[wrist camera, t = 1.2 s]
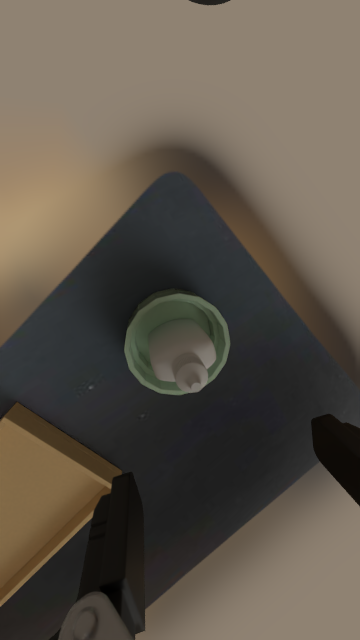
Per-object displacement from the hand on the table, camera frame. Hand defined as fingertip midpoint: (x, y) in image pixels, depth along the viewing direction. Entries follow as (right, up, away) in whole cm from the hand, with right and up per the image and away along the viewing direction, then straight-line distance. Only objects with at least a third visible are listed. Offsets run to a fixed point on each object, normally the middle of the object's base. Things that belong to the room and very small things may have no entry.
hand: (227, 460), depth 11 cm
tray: (-23, -16, +20) cm, 34 cm away
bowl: (-3, +4, +18) cm, 19 cm away
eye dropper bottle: (-3, +4, +18) cm, 18 cm away
